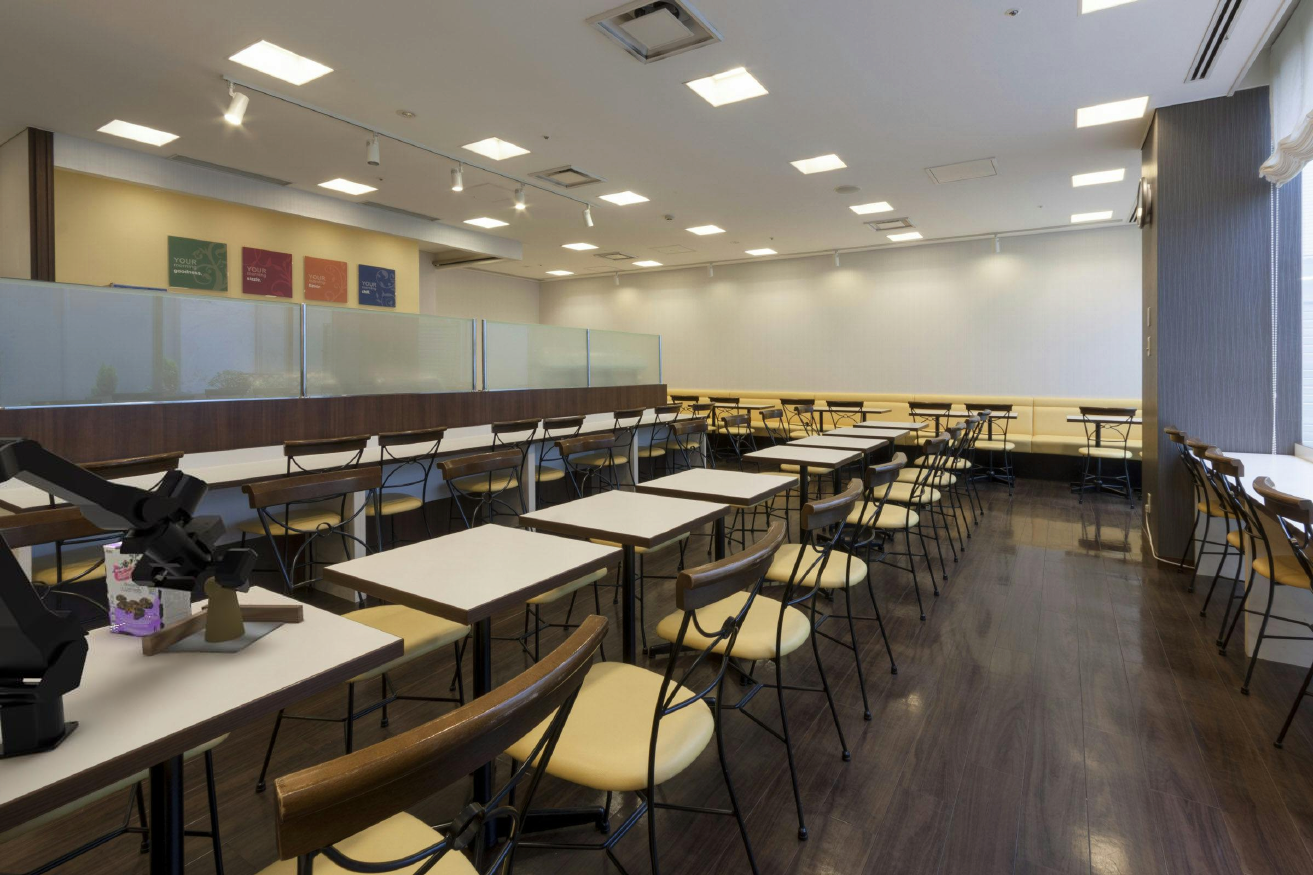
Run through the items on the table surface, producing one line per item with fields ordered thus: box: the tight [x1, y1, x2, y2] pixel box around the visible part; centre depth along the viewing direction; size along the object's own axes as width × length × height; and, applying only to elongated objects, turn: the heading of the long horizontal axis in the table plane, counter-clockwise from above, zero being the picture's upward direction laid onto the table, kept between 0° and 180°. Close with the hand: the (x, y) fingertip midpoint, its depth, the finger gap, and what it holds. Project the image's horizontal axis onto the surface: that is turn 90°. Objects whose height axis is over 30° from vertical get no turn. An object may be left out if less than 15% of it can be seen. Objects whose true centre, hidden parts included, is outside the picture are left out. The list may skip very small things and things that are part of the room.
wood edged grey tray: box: [141, 603, 305, 657], centre depth 114 cm, size 16×19×3 cm
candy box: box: [102, 541, 193, 638], centre depth 117 cm, size 14×6×16 cm, turn 73°
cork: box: [203, 576, 245, 643], centre depth 113 cm, size 6×6×11 cm
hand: (223, 590), depth 113 cm, fingers open, 9 cm apart
